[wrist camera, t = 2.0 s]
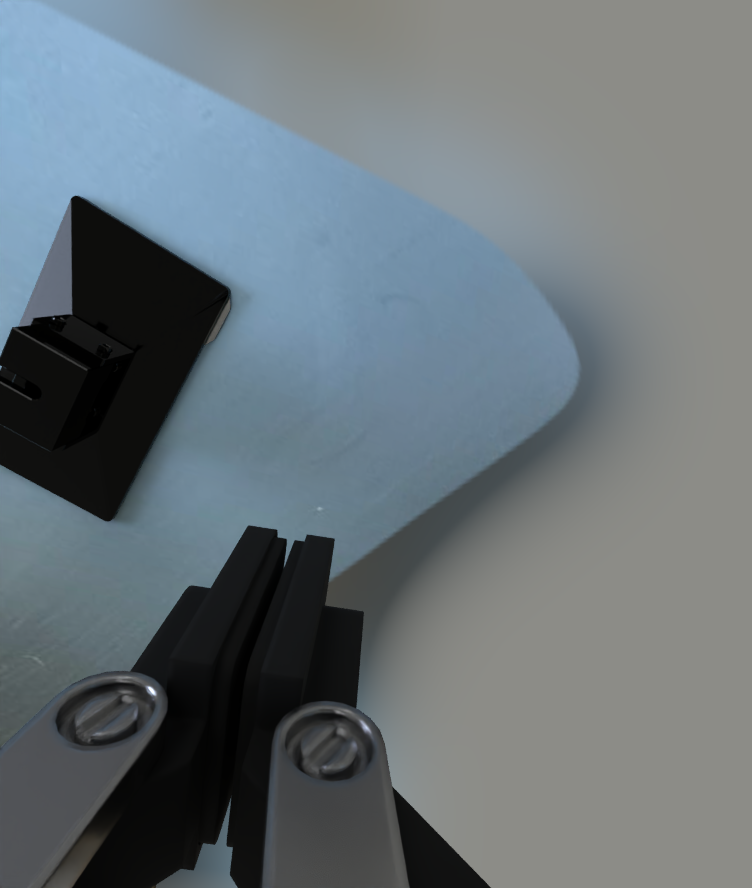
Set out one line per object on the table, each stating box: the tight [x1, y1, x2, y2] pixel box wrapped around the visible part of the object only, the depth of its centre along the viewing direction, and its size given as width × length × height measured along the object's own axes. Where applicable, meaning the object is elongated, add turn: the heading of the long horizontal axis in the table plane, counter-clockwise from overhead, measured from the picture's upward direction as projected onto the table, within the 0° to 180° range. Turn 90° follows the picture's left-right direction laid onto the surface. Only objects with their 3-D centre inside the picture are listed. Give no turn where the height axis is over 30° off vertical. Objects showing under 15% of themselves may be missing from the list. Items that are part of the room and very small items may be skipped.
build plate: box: [0, 196, 231, 521], centre depth 22 cm, size 12×7×5 cm, turn 148°
